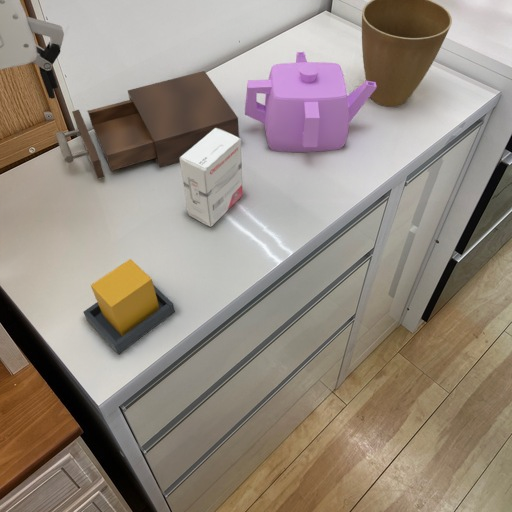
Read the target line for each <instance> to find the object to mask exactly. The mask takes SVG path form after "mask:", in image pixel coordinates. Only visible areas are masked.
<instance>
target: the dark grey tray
mask: <svg viewBox="0 0 512 512" xmlns="http://www.w3.org/2000/svg"><path fill="white" fill-rule="evenodd" d="M153 286H154V290H155V293H156V297H157V301H158V305H159V308H160V309H159V310H158V311H156V312H155V313H154V314H152V315H151V316H149V317H148V318H147V319H145V320H144V321H143V322H141V323H140V324H139V325H137V326H136V327H135V328H133V329H132V330H130V331H129V332H128V333H126V334H125V335H124V336H121V335H120V333H119V332H118V331H117V330H116V329H115V328H114V327H113V326H112V325H111V324H110V323H109V322H108V321H107V320H106V318H105V317H104V316H103V314H102V312H101V309H100V307H99V304H98V302H97V301H96V302H95V303H94V304H92V305H91V306H90V307H88V308H86V309H85V310H83V315H84V317H85V319H86V321H87V322H88V323H89V324H90V326H92V328H94V330H96V332H97V333H98V334H99V335H100V336H101V337H102V339H103V340H104V341H105V342H106V343H107V344H108V345H109V346H110V347H111V348H112V350H114V352H115V353H116V354H117V355H119V354H121V353H122V352H123V351H125V350H126V349H128V348H129V347H130V346H131V345H133V344H134V343H135V342H137V341H139V340H140V339H141V338H142V337H143V336H145V335H146V334H147V333H150V331H151V330H153V329H154V328H155V327H157V326H158V325H159V324H160V323H162V322H163V321H165V320H167V319H168V318H169V317H170V316H171V315H173V314H174V313H176V310H175V305H174V303H173V302H172V301H171V300H170V299H169V298H168V297H167V296H166V295H165V294H164V293H163V292H162V291H160V289H159V288H157V287H156V286H155V285H154V284H153Z"/></svg>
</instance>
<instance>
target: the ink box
mask: <svg viewBox="0 0 512 512" xmlns="http://www.w3.org/2000/svg"><path fill="white" fill-rule="evenodd" d="M179 164H180V170H181V176H182V183H183V189H184V197H185V203H186V208H187V215H188V216H190V217H191V218H193V219H195V220H196V221H198V222H200V223H201V224H204V225H206V226H207V227H210V228H211V227H213V226H214V225H215V224H216V223H217V222H218V221H219V220H220V219H221V218H222V217H223V216H224V215H225V214H226V213H227V212H228V211H229V210H230V209H231V208H232V207H233V206H234V205H235V204H236V203H237V202H238V201H239V200H240V199H241V198H242V196H243V167H242V166H243V165H242V164H243V163H242V138H240V137H239V138H238V137H236V136H234V135H232V134H230V133H228V132H226V131H223V130H221V129H218V128H215V129H213V130H212V131H211V132H210V133H209V134H207V135H206V136H205V137H204V138H203V139H201V140H200V141H199V142H198V143H197V144H195V145H194V146H193V147H192V148H191V149H189V150H188V151H187V152H186V153H185V154H183V155H182V156H181V157H180V162H179Z"/></svg>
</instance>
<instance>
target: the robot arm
mask: <svg viewBox="0 0 512 512" xmlns="http://www.w3.org/2000/svg"><path fill="white" fill-rule="evenodd" d="M34 34H37V35H41V36H44V37H45V36H46V37H49V38H50V40H49V41H48V43H47V45H46V47H45V48H43V47H41V46H40V45H38V44H37V43H36V40H35V35H34ZM64 36H65V33H64V28H63V27H62V25H59V24H55V23H53V22H49V21H45V20H41V19H37V18H34V17H30V16H27V14H26V12H25V9H24V7H23V5H22V2H21V0H0V71H1V70H6V69H11V68H16V67H21V66H25V65H29V64H31V63H33V64H35V65H36V66H38V68H39V74H40V77H41V80H42V82H43V85H44V88H45V91H46V94H47V96H48V98H49V99H51V100H53V99H56V96H55V90H54V89H58V88H59V86H58V82H57V78H56V76H55V73H54V70H53V65H54V63H55V62H56V61H57V59H58V57H59V55H60V54H61V49H62V46H63V45H62V44H63V41H64Z"/></svg>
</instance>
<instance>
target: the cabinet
mask: <svg viewBox="0 0 512 512" xmlns="http://www.w3.org/2000/svg"><path fill="white" fill-rule="evenodd" d="M127 95H128V100H132V102H133V104H134V106H135V108H136V110H137V111H138V113H139V115H140V117H141V119H142V121H143V123H144V125H145V126H146V128H147V130H148V132H149V134H150V136H151V138H152V140H153V142H154V145H155V151H156V156H157V157H156V158H154V159H155V162H156V164H157V165H158V167H159V168H164V167H167V166H170V165H173V164H177V163H180V157H181V156H182V155H183V154H185V153H186V152H187V151H188V150H189V149H191V148H192V147H193V146H194V145H195V144H197V143H198V142H199V141H200V140H201V139H203V138H204V137H205V136H206V135H207V134H209V133H210V132H211V131H212V130H213V129H215V128H218V129H221V130H223V131H226V132H228V133H230V134H232V135H234V136H236V137H238V138H240V132H239V117H238V115H237V114H236V113H235V111H234V110H233V108H232V107H231V105H230V104H229V103H228V102H227V100H226V99H225V98H224V96H223V94H221V92H220V91H219V89H218V88H217V87H216V85H215V84H214V82H213V80H212V78H210V76H209V75H208V74H207V72H206V71H205V70H202V71H198V72H194V73H191V74H187V75H183V76H179V77H175V78H171V79H166V80H162V81H159V82H155V83H152V84H148V85H144V86H139V87H135V88H132V89H128V90H127Z"/></svg>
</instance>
